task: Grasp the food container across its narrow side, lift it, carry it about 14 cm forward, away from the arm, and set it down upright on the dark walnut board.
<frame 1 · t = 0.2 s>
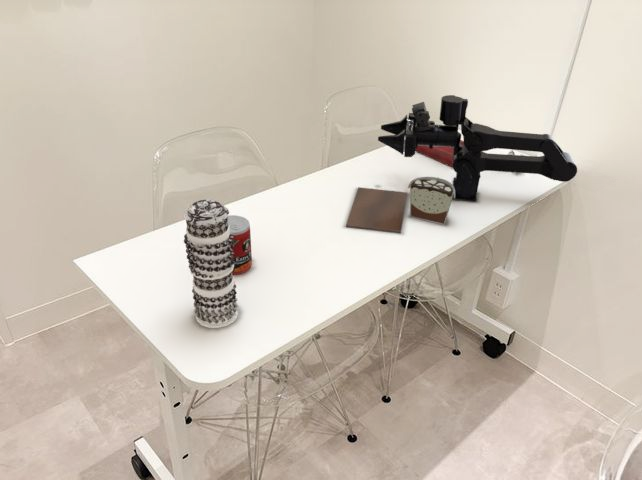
hand: (379, 132, 159), 16 cm above the table, tool horizontal, fingers open, 9 cm apart
walnut board: (378, 209, 157), on the table
decorative candle: (216, 315, 119), on the table
hardcover book: (442, 154, 190), on the table
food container: (430, 216, 155), on the table
canned food: (235, 266, 134), on the table
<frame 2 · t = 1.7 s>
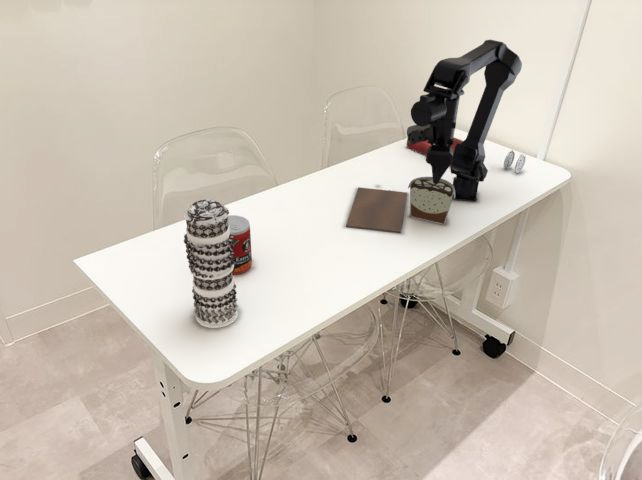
hand: (435, 175, 149), 12 cm above the table, tool pointing down, fingers open, 9 cm apart
nothing on the table moved.
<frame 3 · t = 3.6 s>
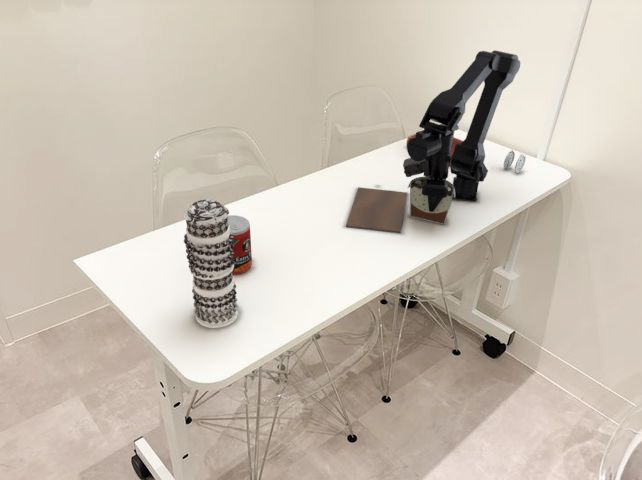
hand: (431, 205, 153), 3 cm above the table, tool pointing down, fingers closed on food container, 6 cm apart
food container: (430, 216, 155), on the table, touching gripper
everything else where it was.
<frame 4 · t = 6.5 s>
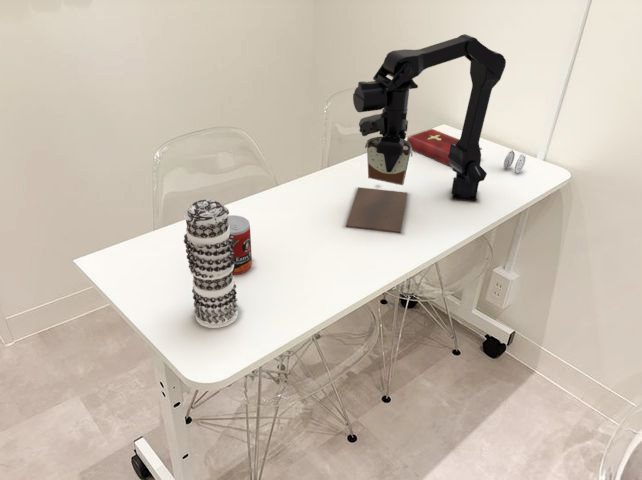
hand: (390, 166, 150), 13 cm above the table, tool pointing down, fingers closed on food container, 6 cm apart
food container: (389, 177, 152), point 10 cm above the table, touching gripper
everything else where it was.
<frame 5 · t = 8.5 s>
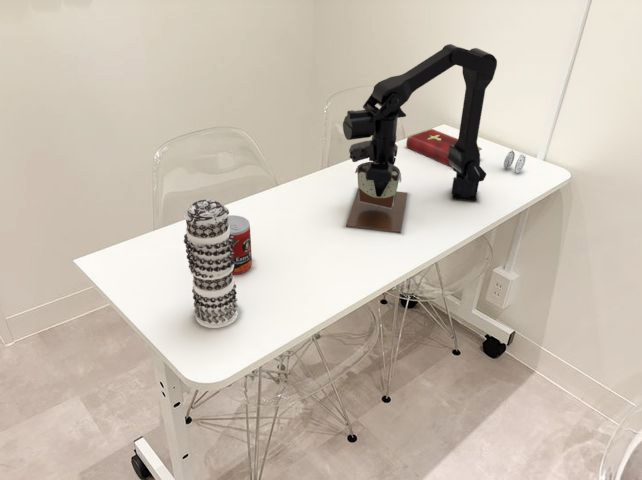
hand: (380, 190, 154), 6 cm above the table, tool pointing down, fingers closed on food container, 6 cm apart
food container: (379, 201, 156), point 2 cm above the table, touching gripper
everything else where it was.
when the fingers open (4 cm above the table, at t = 9.7 s): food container stays where it is, resting on walnut board.
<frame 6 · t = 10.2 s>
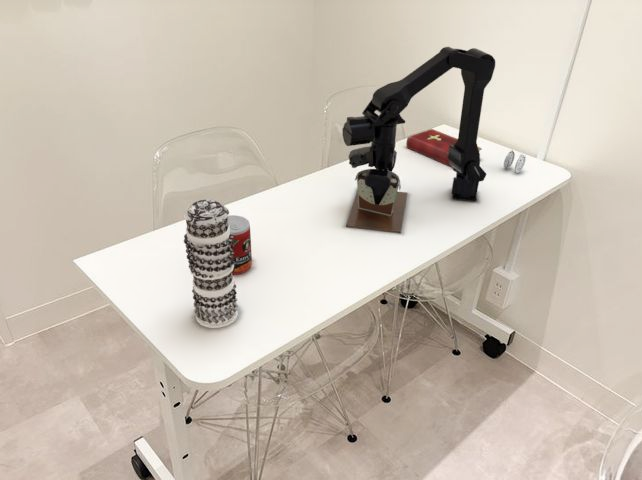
hand: (379, 196, 155), 4 cm above the table, tool pointing down, fingers open, 9 cm apart
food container: (378, 208, 157), resting on walnut board
everything else where it was.
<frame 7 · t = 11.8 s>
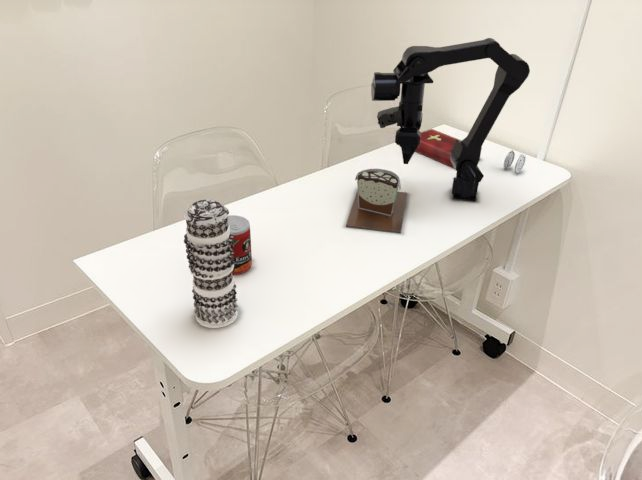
hand: (406, 156, 158), 12 cm above the table, tool pointing down, fingers open, 9 cm apart
nothing on the table moved.
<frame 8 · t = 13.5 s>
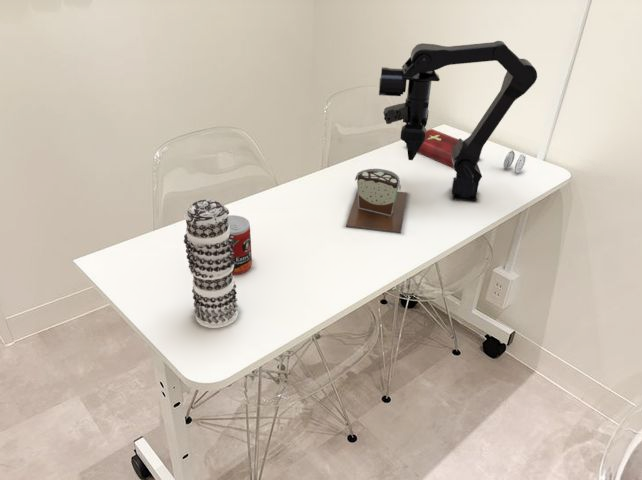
hand: (411, 153, 159), 12 cm above the table, tool pointing down, fingers open, 9 cm apart
nothing on the table moved.
at the end: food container inside the target area (0.3 cm from its centre), resting on walnut board; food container tilted 0°; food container moved 13.9 cm from its start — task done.
